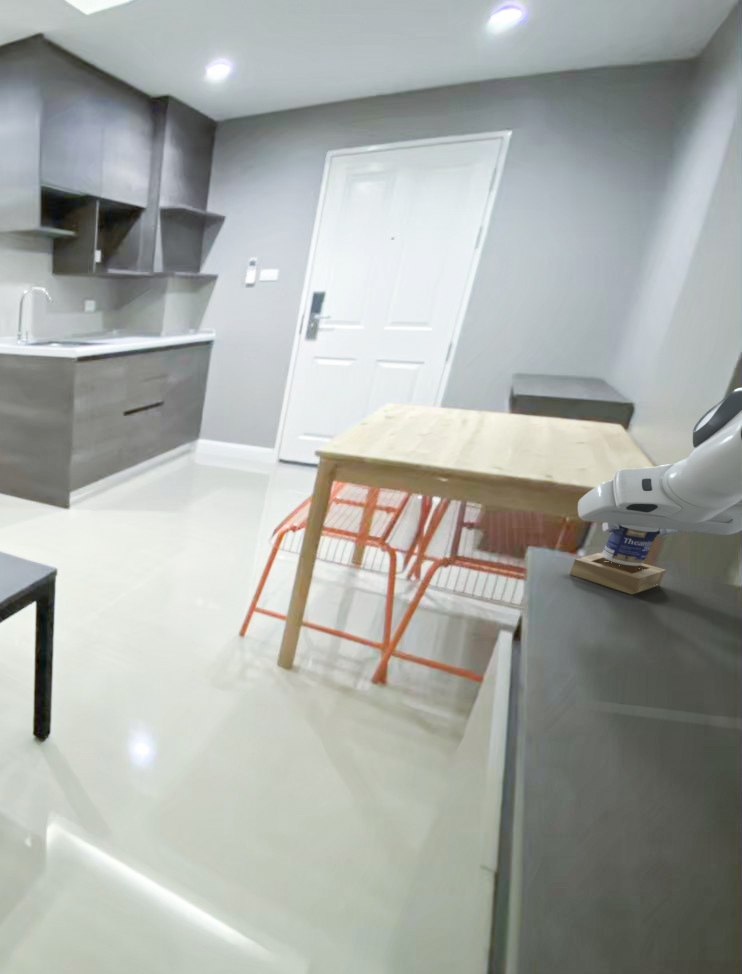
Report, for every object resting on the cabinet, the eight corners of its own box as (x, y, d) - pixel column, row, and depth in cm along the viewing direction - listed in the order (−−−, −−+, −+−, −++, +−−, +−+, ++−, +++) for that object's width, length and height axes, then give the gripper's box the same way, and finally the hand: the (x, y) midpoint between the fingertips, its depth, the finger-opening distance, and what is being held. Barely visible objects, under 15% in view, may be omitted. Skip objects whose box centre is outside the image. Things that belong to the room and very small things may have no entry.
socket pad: (596, 566, 114) (602, 551, 112) (659, 585, 106) (666, 570, 105) (569, 574, 110) (575, 559, 109) (631, 594, 103) (639, 578, 102)
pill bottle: (613, 565, 105) (636, 511, 101) (593, 553, 110) (615, 502, 106) (650, 568, 104) (675, 514, 100) (629, 556, 109) (652, 504, 105)
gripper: (779, 481, 90) (708, 522, 103) (606, 468, 97) (559, 508, 110) (786, 519, 88) (713, 556, 101) (609, 502, 95) (560, 539, 108)
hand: (631, 531), depth 105 cm, fingers closed on pill bottle, 5 cm apart
